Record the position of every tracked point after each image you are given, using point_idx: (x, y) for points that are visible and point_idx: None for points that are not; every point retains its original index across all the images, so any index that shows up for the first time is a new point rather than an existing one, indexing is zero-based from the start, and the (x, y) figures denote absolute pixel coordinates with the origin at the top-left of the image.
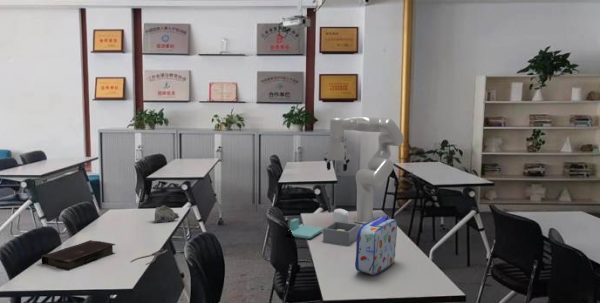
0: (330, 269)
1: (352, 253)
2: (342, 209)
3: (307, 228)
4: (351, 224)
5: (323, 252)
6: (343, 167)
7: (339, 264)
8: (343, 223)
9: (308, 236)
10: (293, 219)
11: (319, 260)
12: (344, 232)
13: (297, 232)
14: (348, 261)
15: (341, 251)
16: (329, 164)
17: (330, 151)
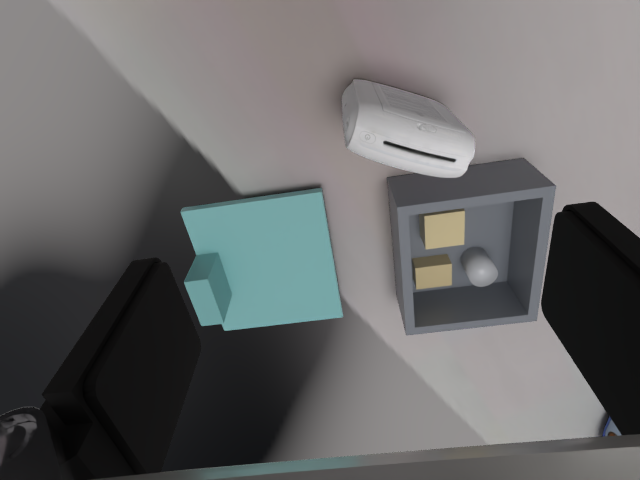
0: (521, 441)
1: (547, 333)
2: (422, 151)
3: (258, 239)
4: (504, 201)
5: (449, 369)
6: (585, 370)
7: (533, 411)
8: (454, 208)
9: (334, 317)
10: (195, 300)
11: (467, 415)
12: (512, 320)
13: (264, 305)
14: (553, 387)
15: (503, 336)
16: (146, 407)
17: None
